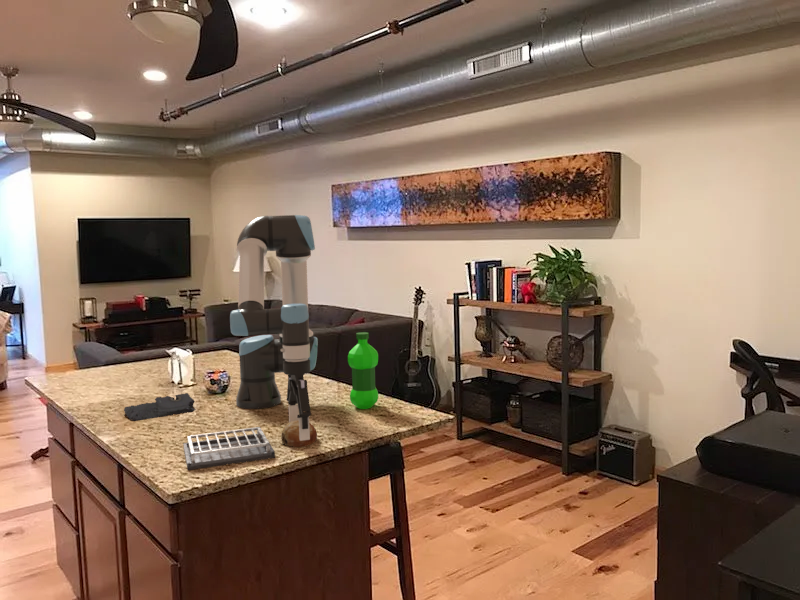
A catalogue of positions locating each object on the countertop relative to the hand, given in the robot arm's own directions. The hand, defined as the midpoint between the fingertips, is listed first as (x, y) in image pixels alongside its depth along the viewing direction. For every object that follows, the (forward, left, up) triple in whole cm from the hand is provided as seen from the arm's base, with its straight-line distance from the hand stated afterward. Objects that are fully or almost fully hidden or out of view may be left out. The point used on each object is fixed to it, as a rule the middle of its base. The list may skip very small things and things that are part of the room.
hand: (299, 433), depth 189 cm
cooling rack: (+2, -20, -2) cm, 20 cm away
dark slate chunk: (-52, -36, -3) cm, 63 cm away
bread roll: (0, 0, -3) cm, 3 cm away
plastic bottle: (-27, +28, -3) cm, 39 cm away
